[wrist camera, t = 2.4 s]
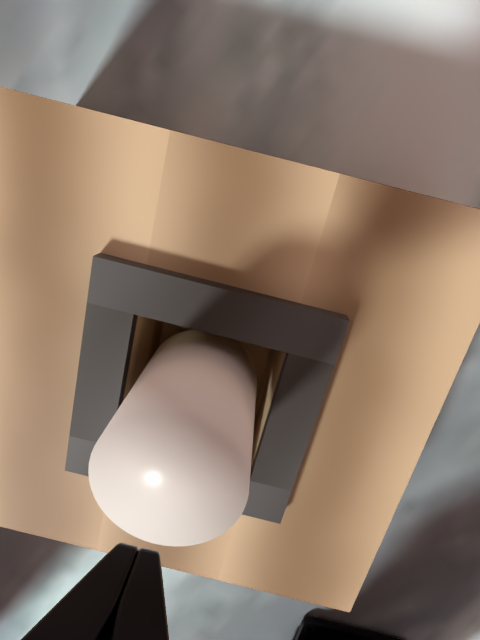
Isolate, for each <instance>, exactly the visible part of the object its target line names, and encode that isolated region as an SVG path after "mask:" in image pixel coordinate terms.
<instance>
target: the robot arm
mask: <svg viewBox="0 0 480 640" xmlns="http://www.w3.org/2000/svg"><path fill="white" fill-rule="evenodd" d="M21 640H169V635H168V625H167V616H166V607H165V597H164V588H163V579H162V569H161V560H160V554H159V552H158V551H155V550H151V549H147V548H140V549H139V550H138V547H137V546H134V545H130V544H126V543H118V544H117V545H116V546H115V547H114V548H113V549H112V550H111V551H110V552H109V553H108V554H107V555H106V556H105V557H104V558H103V559H102V560H100V561H99V562H98V563H97V564H96V565H95V566H94V567H93V568H92V569H91V570H90V571H89V572H88V573H87V574H86V575H85V576H84V577H83V578H82V579H81V580H80V581H79V582H78V583H77V584H76V585H75V586H74V587H73V588H72V589H71V590H70V591H69V592H68V593H67V594H66V595H65V596H64V597H63V598H62V599H61V600H60V601H59V602H58V603H57V604H56V605H55V606H54V607H53V608H52V609H51V610H50V611H49V612H48V613H47V614H46V615H45V616H44V617H43V618H42V619H41V620H40V621H39V622H38V623H37V624H36V625H35V626H34V627H33V628H32V629H31V630H30V631H29V632H28V633H27V634H26V635H25V636H24V637H23V638H22V639H21ZM295 640H402V639H398V638H394V637H390V636H386V635H382V634H378V633H374V632H370V631H366V630H362V629H358V628H354V627H349V626H345V625H341V624H337V623H333V622H329V621H325V620H321V619H317V618H313V617H307V618H305V619H303V620H302V622H301V625H300V627H299V630H298V632H297V635H296V637H295Z"/></svg>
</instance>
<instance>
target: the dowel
mask: <svg viewBox="0 0 480 640" xmlns="http://www.w3.org/2000/svg"><path fill="white" fill-rule="evenodd" d="M256 392H257V374H256V370H255V367H254V364H253V361H252V360H251V358H250V356H249V355H248V353H247V352H246V351H245V349H244V348H243V347H242V346H241V345H240V344H239V343H237V342H236V341H235V340H233V339H230V338H226V337H222V336H218V335H214V334H210V333H206V332H202V331H198V330H194V329H193V330H187V331H183V332H180V333H178V334H175V335H173V336H172V337H170V338H169V339H167V340H166V341H165V342H163V343H162V344H161V345H160V347H159V348H158V349H157V350H156V352H155V353H154V355H153V356H152V358H151V359H150V361H149V362H148V364H147V366H146V367H145V369H144V370H143V372H142V373H141V375H140V376H139V378H138V379H137V381H136V382H135V384H134V385H133V387H132V389H131V390H130V392H129V393H128V395H127V396H126V398H125V399H124V401H123V402H122V404H121V405H120V407H119V408H118V410H117V412H116V413H115V415H114V416H113V418H112V419H111V421H110V422H109V424H108V425H107V427H106V428H105V430H104V431H103V433H102V435H101V436H100V438H99V439H98V441H97V442H96V444H95V446H94V448H93V450H92V453H91V456H90V460H89V468H88V475H89V483H90V487H91V490H92V493H93V495H94V498H95V500H96V501H97V503H98V505H99V507H100V508H101V509H102V511H103V512H104V513H105V514H106V516H107V517H108V518H109V519H110V520H111V521H112V522H113V523H115V524H116V525H117V526H118V527H120V528H121V529H122V530H124V531H125V532H127V533H129V534H131V535H132V536H134V537H136V538H139V539H141V540H144V541H147V542H150V543H153V544H158V545H163V546H174V547H176V546H191V545H196V544H201V543H204V542H207V541H210V540H212V539H214V538H216V537H218V536H220V535H221V534H223V533H224V532H226V531H227V530H228V529H229V528H230V527H232V526H233V525H234V524H235V522H236V521H237V520H238V519H239V518H240V516H241V514H242V512H243V511H244V509H245V506H246V503H247V500H248V496H249V486H250V473H251V459H252V446H253V432H254V419H255V405H256Z"/></svg>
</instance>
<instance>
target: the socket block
mask: <svg viewBox="0 0 480 640" xmlns="http://www.w3.org/2000/svg"><path fill="white" fill-rule="evenodd" d="M479 323H480V209H477V208H473V207H469V206H465V205H461V204H457V203H453V202H449V201H445V200H441V199H438V198H434V197H430V196H426V195H422V194H418V193H414V192H410V191H406V190H402V189H399V188H395V187H391V186H387V185H383V184H379V183H375V182H371V181H367V180H363V179H359V178H356V177H352V176H348V175H344V174H340V173H336V172H332V171H328V170H324V169H320V168H317V167H313V166H309V165H305V164H301V163H297V162H293V161H289V160H285V159H281V158H278V157H274V156H270V155H266V154H262V153H258V152H254V151H250V150H246V149H242V148H238V147H235V146H231V145H227V144H223V143H219V142H215V141H211V140H207V139H203V138H199V137H196V136H192V135H188V134H184V133H180V132H176V131H172V130H168V129H164V128H160V127H156V126H153V125H149V124H145V123H141V122H137V121H133V120H129V119H125V118H121V117H117V116H114V115H110V114H106V113H102V112H98V111H94V110H90V109H86V108H82V107H78V106H74V105H71V104H67V103H63V102H59V101H55V100H51V99H47V98H43V97H39V96H35V95H32V94H28V93H24V92H20V91H16V90H12V89H8V88H4V87H0V527H4V528H8V529H12V530H16V531H20V532H24V533H29V534H33V535H37V536H41V537H45V538H49V539H53V540H57V541H61V542H65V543H69V544H73V545H77V546H81V547H85V548H90V549H94V550H98V551H102V552H106V553H109V552H110V551H111V550H112V549H113V548H114V547H115V546H116V545H117V544H118V543H126V544H130V545H134V546H137V547H138V550H139V549H140V548H147V549H151V550H155V551H158V552H159V554H160V560H161V566H163V567H167V568H171V569H175V570H179V571H183V572H187V573H191V574H195V575H199V576H203V577H207V578H211V579H216V580H220V581H224V582H228V583H232V584H236V585H240V586H244V587H248V588H252V589H256V590H260V591H264V592H268V593H272V594H276V595H281V596H285V597H289V598H293V599H297V600H301V601H305V602H309V603H313V604H317V605H321V606H325V607H329V608H333V609H337V610H342V611H346V612H350V611H351V609H352V607H353V604H354V602H355V600H356V598H357V595H358V593H359V591H360V589H361V586H362V584H363V582H364V580H365V578H366V575H367V573H368V571H369V569H370V566H371V564H372V562H373V560H374V557H375V555H376V553H377V551H378V549H379V546H380V544H381V542H382V540H383V537H384V535H385V533H386V531H387V528H388V526H389V524H390V522H391V520H392V517H393V515H394V513H395V511H396V508H397V506H398V504H399V502H400V499H401V497H402V495H403V493H404V490H405V488H406V486H407V484H408V482H409V479H410V477H411V475H412V473H413V470H414V468H415V466H416V464H417V461H418V459H419V457H420V455H421V453H422V450H423V448H424V446H425V444H426V441H427V439H428V437H429V435H430V432H431V430H432V428H433V426H434V424H435V421H436V419H437V417H438V415H439V412H440V410H441V408H442V406H443V403H444V401H445V399H446V397H447V394H448V392H449V390H450V388H451V386H452V383H453V381H454V379H455V377H456V374H457V372H458V370H459V368H460V365H461V363H462V361H463V359H464V357H465V354H466V352H467V350H468V348H469V345H470V343H471V341H472V339H473V336H474V334H475V332H476V330H477V328H478V325H479ZM193 329H194V330H198V331H202V332H206V333H210V334H214V335H218V336H222V337H226V338H230V339H233V340H235V341H236V342H237V343H239V344H240V345H241V346H242V347H243V348H244V349H245V351H246V352H247V353H248V355H249V356H250V358H251V360H252V361H253V364H254V367H255V370H256V374H257V392H256V405H255V419H254V432H253V446H252V459H251V473H250V486H249V496H248V500H247V503H246V506H245V509H244V511H243V512H242V514H241V516H240V518H239V519H238V520H237V521H236V522H235V524H234V525H233V526H232V527H230V528H229V529H228V530H227V531H226V532H224V533H223V534H221V535H220V536H218V537H216V538H214V539H212V540H210V541H207V542H204V543H201V544H196V545H191V546H176V547H174V546H163V545H158V544H153V543H150V542H147V541H144V540H141V539H139V538H136V537H134V536H132V535H131V534H129V533H127V532H125V531H124V530H122V529H121V528H120V527H118V526H117V525H116V524H115V523H113V522H112V521H111V520H110V519H109V518H108V517H107V516H106V514H105V513H104V512H103V511H102V509H101V508H100V507H99V505H98V503H97V501H96V500H95V498H94V495H93V493H92V490H91V487H90V483H89V475H88V468H89V460H90V456H91V453H92V450H93V448H94V446H95V444H96V442H97V441H98V439H99V438H100V436H101V435H102V433H103V431H104V430H105V428H106V427H107V425H108V424H109V422H110V421H111V419H112V418H113V416H114V415H115V413H116V412H117V410H118V408H119V407H120V405H121V404H122V402H123V401H124V399H125V398H126V396H127V395H128V393H129V392H130V390H131V389H132V387H133V385H134V384H135V382H136V381H137V379H138V378H139V376H140V375H141V373H142V372H143V370H144V369H145V367H146V366H147V364H148V362H149V361H150V359H151V358H152V356H153V355H154V353H155V352H156V350H157V349H158V348H159V347H160V345H161V344H162V343H163V342H165V341H166V340H167V339H169V338H170V337H172V336H173V335H175V334H178V333H180V332H183V331H187V330H193Z"/></svg>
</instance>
